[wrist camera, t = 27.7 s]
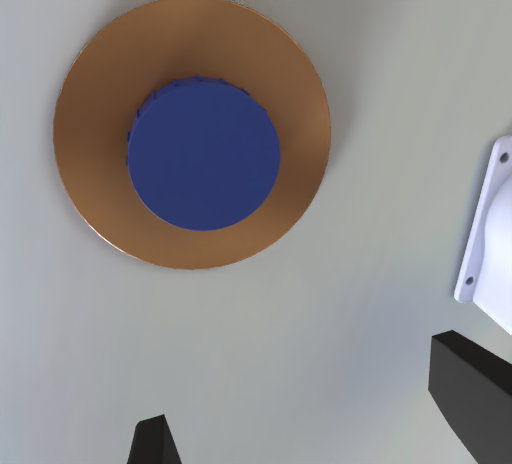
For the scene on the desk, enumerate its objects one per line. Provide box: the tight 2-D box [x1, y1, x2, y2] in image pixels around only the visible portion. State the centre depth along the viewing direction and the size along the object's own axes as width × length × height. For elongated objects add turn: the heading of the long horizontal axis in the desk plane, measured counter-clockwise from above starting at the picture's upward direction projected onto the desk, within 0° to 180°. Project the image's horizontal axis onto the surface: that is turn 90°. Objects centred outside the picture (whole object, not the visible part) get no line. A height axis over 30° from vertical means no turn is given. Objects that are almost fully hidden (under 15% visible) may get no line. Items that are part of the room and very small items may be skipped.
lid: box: [126, 75, 280, 231], centre depth 17 cm, size 6×6×2 cm
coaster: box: [53, 0, 331, 270], centre depth 18 cm, size 11×11×1 cm
